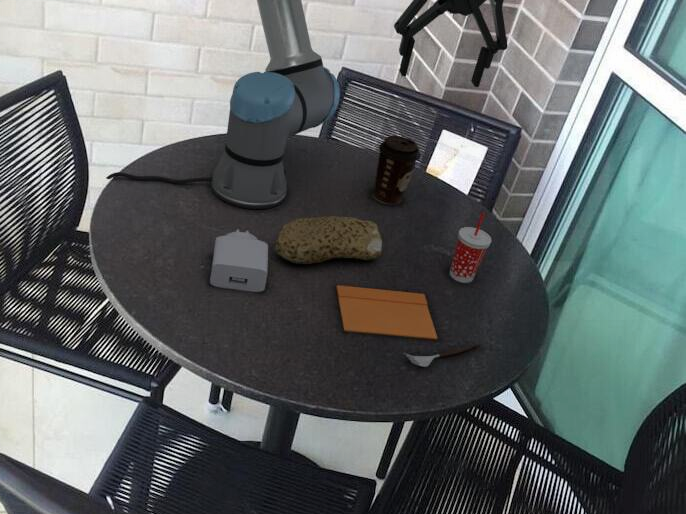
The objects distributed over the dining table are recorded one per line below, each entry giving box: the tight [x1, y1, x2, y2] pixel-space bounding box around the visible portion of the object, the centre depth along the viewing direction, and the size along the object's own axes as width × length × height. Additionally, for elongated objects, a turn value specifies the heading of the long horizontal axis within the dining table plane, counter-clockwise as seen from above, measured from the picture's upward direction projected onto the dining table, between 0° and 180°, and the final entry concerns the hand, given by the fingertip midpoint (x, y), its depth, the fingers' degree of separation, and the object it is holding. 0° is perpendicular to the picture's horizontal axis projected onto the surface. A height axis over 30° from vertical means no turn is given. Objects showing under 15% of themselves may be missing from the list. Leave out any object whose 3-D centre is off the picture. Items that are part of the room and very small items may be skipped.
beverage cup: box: [448, 211, 492, 284], centre depth 149 cm, size 6×6×14 cm
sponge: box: [274, 215, 383, 265], centre depth 149 cm, size 13×8×20 cm
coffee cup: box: [371, 135, 422, 206], centre depth 170 cm, size 9×8×13 cm
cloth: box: [336, 284, 438, 340], centre depth 139 cm, size 16×12×1 cm
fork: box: [403, 343, 482, 368], centre depth 132 cm, size 3×16×2 cm, turn 120°
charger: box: [209, 228, 269, 293], centre depth 142 cm, size 5×9×15 cm
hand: (438, 79), depth 146 cm, fingers open, 13 cm apart
